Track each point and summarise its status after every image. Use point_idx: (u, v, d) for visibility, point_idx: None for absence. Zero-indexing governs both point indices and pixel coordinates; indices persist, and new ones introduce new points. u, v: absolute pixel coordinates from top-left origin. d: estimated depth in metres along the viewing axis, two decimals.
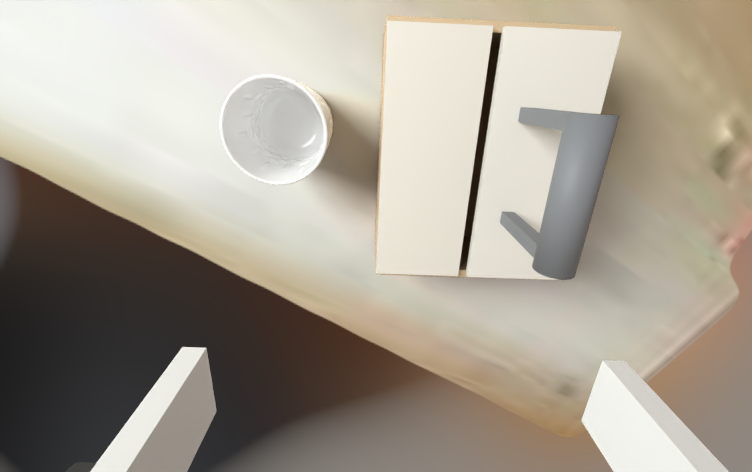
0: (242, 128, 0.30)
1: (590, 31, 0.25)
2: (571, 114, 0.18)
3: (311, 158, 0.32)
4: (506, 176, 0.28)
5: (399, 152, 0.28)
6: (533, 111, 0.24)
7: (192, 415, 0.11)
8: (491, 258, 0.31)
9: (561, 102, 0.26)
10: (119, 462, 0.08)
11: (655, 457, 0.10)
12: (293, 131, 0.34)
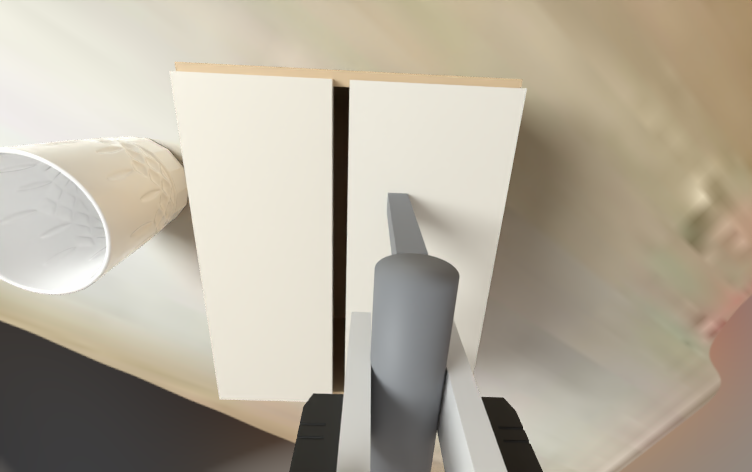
0: (21, 207, 0.21)
1: (479, 88, 0.16)
2: (375, 274, 0.10)
3: None
4: None
5: (222, 251, 0.19)
6: (389, 212, 0.16)
7: None
8: None
9: (447, 186, 0.18)
10: (361, 389, 0.10)
11: (443, 385, 0.12)
12: None
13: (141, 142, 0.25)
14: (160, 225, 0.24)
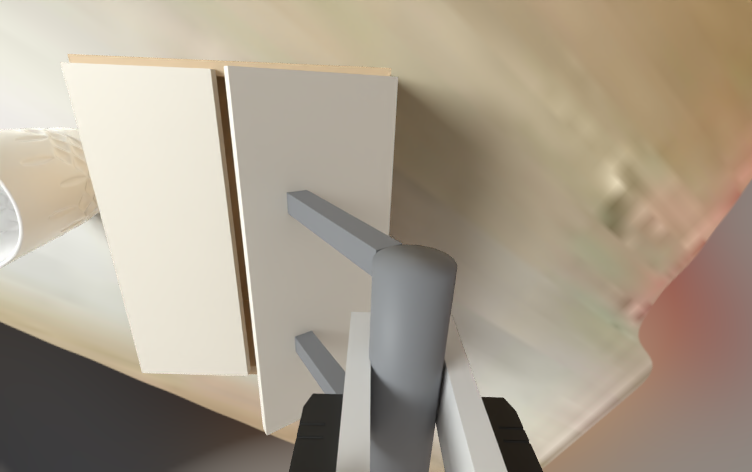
0: None
1: (361, 76, 0.17)
2: (385, 276, 0.10)
3: None
4: (289, 290, 0.18)
5: (128, 231, 0.21)
6: (309, 212, 0.15)
7: None
8: (295, 397, 0.21)
9: (342, 176, 0.18)
10: (360, 389, 0.10)
11: (443, 385, 0.12)
12: None
13: (72, 133, 0.26)
14: (90, 210, 0.26)
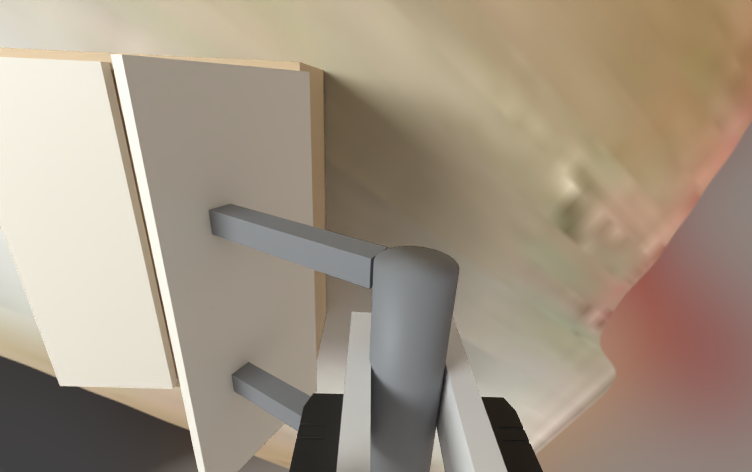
0: None
1: (275, 70, 0.15)
2: (403, 283, 0.09)
3: None
4: (221, 323, 0.15)
5: (29, 236, 0.19)
6: (254, 229, 0.13)
7: None
8: (237, 442, 0.18)
9: (266, 183, 0.16)
10: (361, 389, 0.10)
11: (443, 386, 0.12)
12: None
13: None
14: None
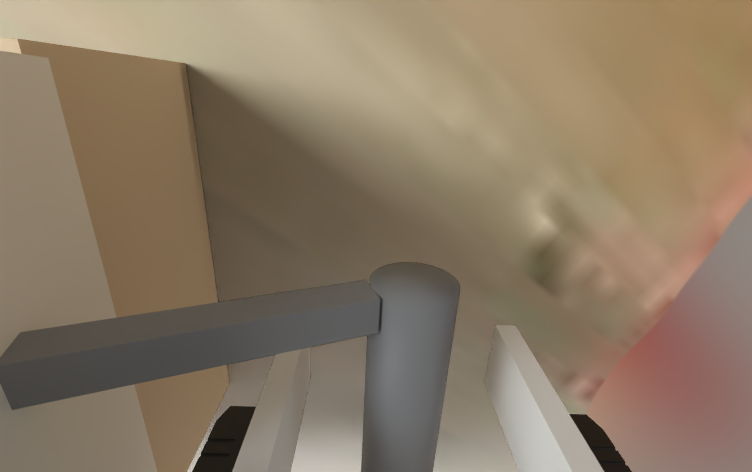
0: None
1: (7, 55, 0.08)
2: (443, 305, 0.09)
3: None
4: None
5: None
6: (158, 346, 0.07)
7: (303, 375, 0.12)
8: None
9: (52, 268, 0.09)
10: (275, 402, 0.10)
11: (519, 401, 0.11)
12: None
13: None
14: None
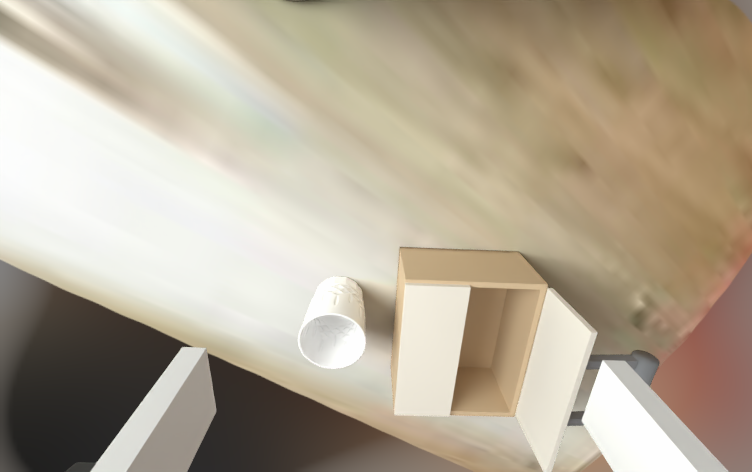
0: (307, 324, 0.45)
1: (562, 298, 0.39)
2: (655, 366, 0.37)
3: (350, 334, 0.48)
4: None
5: (411, 350, 0.43)
6: (594, 363, 0.37)
7: (192, 415, 0.11)
8: None
9: None
10: (119, 462, 0.08)
11: (655, 457, 0.10)
12: None
13: (348, 283, 0.48)
14: None
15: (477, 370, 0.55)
